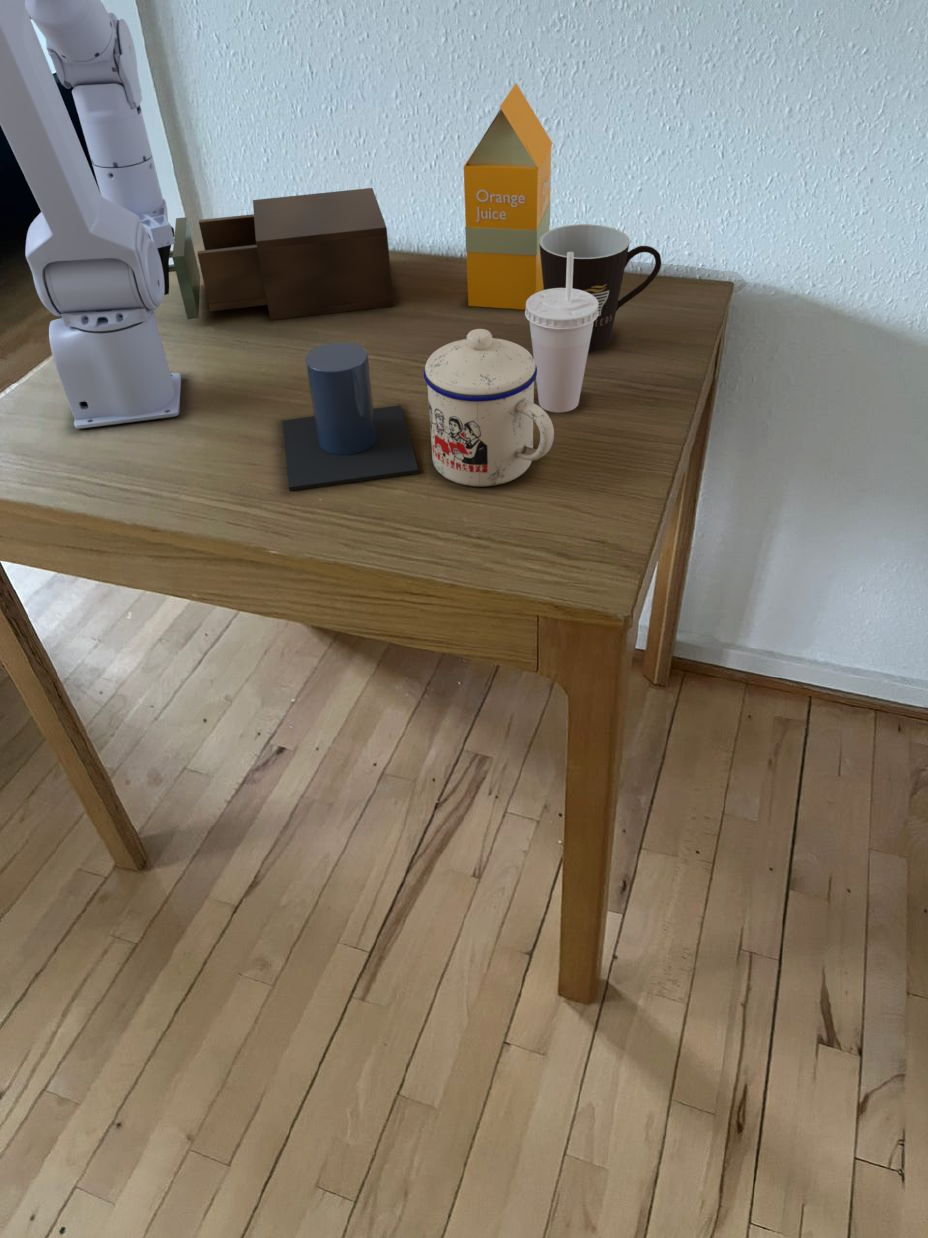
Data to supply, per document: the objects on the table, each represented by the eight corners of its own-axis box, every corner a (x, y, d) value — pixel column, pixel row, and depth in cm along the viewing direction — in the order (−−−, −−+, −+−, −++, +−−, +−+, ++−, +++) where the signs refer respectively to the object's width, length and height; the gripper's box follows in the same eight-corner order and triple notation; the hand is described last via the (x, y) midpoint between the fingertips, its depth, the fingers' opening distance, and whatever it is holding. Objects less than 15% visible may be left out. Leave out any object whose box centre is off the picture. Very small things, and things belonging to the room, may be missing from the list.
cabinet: (270, 320, 104) (255, 241, 98) (266, 274, 113) (252, 199, 107) (393, 305, 105) (386, 227, 99) (379, 261, 114) (372, 187, 109)
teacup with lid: (408, 463, 82) (396, 336, 74) (479, 420, 87) (476, 297, 79) (512, 517, 76) (512, 386, 68) (583, 468, 80) (591, 340, 72)
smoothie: (589, 422, 86) (598, 270, 76) (519, 417, 87) (519, 266, 77) (596, 387, 90) (606, 239, 81) (529, 382, 91) (531, 236, 82)
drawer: (146, 324, 102) (129, 261, 97) (152, 281, 110) (136, 221, 106) (303, 306, 104) (293, 243, 99) (297, 265, 112) (287, 206, 108)
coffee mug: (530, 354, 96) (531, 255, 89) (545, 316, 102) (547, 221, 95) (646, 364, 93) (657, 263, 87) (655, 325, 99) (665, 228, 93)
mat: (289, 491, 80) (288, 487, 79) (283, 424, 88) (282, 420, 87) (419, 473, 81) (418, 469, 80) (401, 408, 89) (400, 404, 88)
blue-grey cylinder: (315, 428, 86) (302, 346, 81) (372, 420, 87) (362, 338, 81) (322, 459, 82) (308, 375, 77) (381, 450, 83) (372, 366, 78)
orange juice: (466, 305, 104) (459, 105, 91) (483, 273, 111) (479, 81, 97) (537, 310, 103) (540, 107, 89) (550, 276, 109) (555, 82, 96)
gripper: (59, 149, 95) (99, 281, 104) (106, 187, 86) (145, 328, 95) (127, 134, 98) (160, 265, 107) (179, 170, 89) (211, 309, 98)
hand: (157, 294), depth 101 cm, fingers closed
